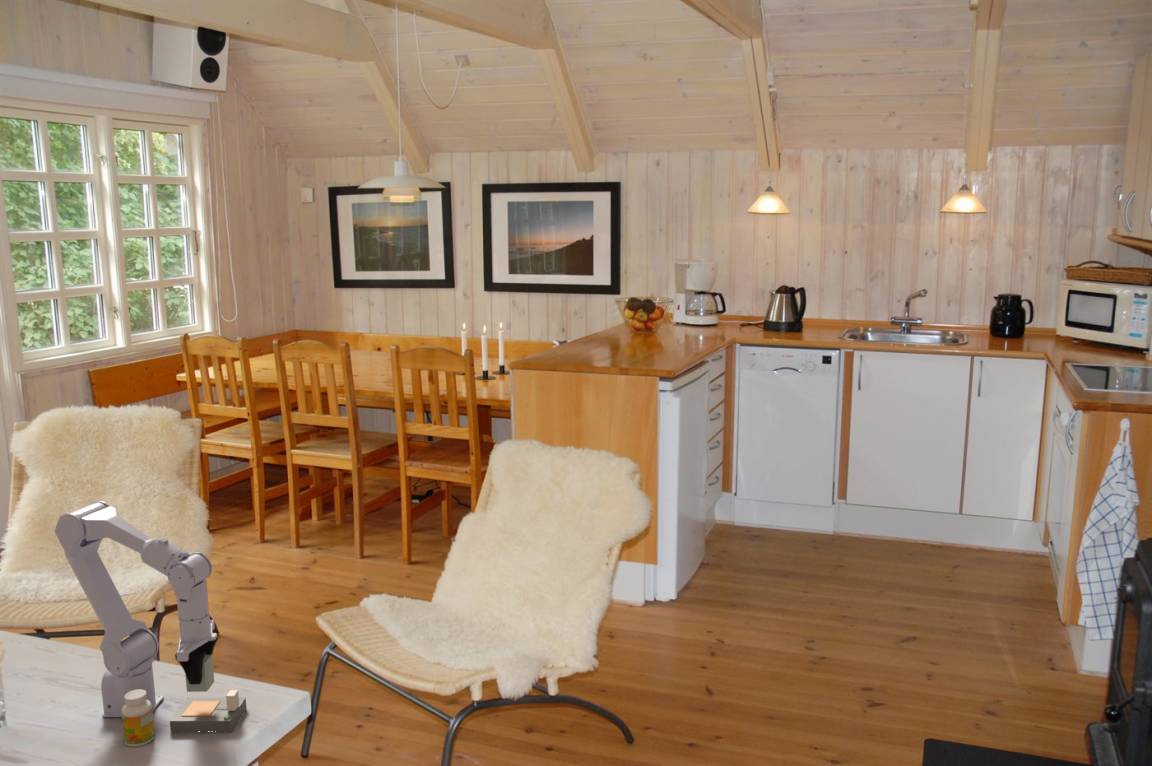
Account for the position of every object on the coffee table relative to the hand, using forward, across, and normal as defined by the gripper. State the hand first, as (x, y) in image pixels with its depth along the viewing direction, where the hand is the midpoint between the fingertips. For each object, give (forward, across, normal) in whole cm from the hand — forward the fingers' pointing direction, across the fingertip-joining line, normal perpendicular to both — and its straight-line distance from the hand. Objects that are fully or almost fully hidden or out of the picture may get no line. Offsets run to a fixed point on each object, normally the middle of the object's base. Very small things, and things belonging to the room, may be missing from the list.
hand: (199, 677), depth 193 cm
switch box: (+9, -1, -2) cm, 9 cm away
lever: (+6, -1, -7) cm, 9 cm away
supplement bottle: (+9, -8, +10) cm, 15 cm away
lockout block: (+2, 0, 0) cm, 2 cm away
